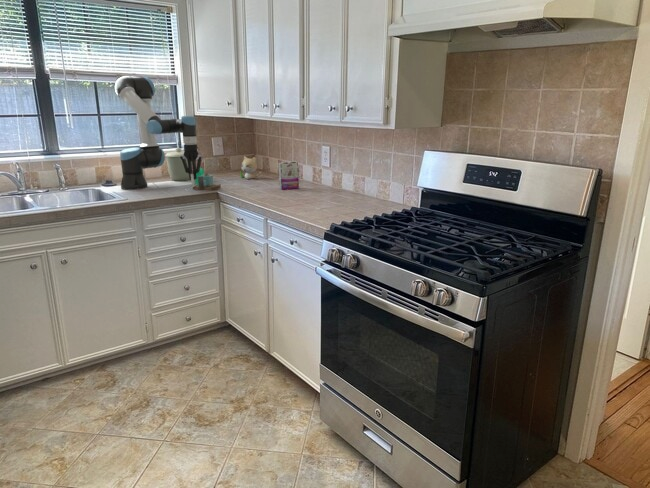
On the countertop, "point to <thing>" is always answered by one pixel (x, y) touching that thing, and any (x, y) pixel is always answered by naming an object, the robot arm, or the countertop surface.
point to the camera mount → (199, 175)
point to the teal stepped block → (205, 180)
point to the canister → (176, 165)
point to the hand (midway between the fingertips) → (193, 184)
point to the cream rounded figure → (249, 168)
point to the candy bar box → (288, 175)
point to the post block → (208, 188)
